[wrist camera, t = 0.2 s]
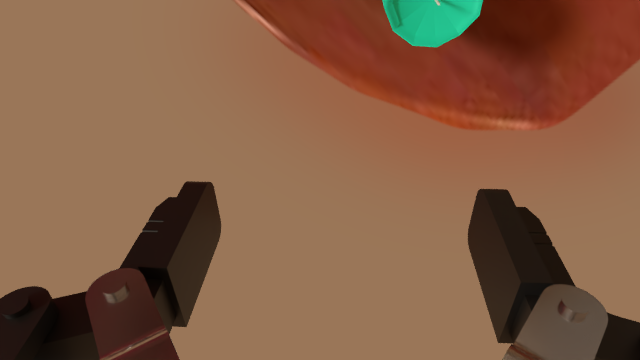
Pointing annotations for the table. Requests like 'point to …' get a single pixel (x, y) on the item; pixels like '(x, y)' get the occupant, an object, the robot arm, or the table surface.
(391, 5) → the candle
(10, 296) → the robot arm
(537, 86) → the table surface
